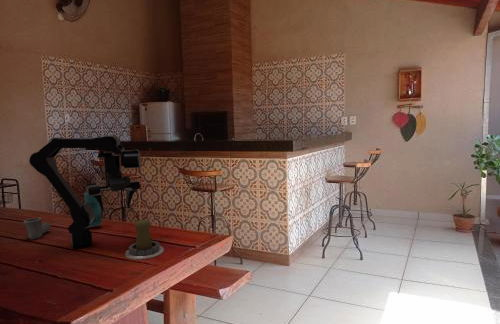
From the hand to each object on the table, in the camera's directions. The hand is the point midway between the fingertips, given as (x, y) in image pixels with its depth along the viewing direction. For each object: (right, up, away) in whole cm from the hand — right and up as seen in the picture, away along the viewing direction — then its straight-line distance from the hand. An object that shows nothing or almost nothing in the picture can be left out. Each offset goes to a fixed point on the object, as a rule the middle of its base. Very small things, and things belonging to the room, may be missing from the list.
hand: (115, 209), depth 142 cm
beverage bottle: (-18, -11, +24) cm, 32 cm away
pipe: (-37, -13, +14) cm, 42 cm away
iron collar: (+14, -14, -10) cm, 22 cm away
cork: (+14, -13, -10) cm, 22 cm away
